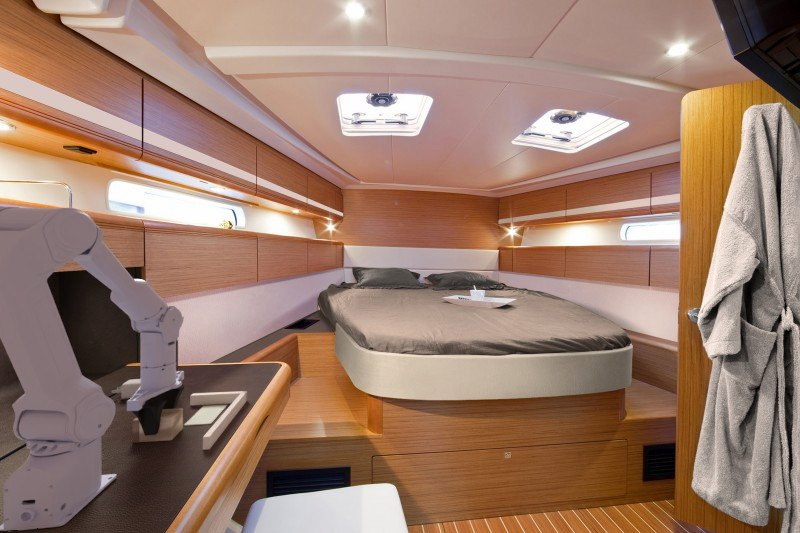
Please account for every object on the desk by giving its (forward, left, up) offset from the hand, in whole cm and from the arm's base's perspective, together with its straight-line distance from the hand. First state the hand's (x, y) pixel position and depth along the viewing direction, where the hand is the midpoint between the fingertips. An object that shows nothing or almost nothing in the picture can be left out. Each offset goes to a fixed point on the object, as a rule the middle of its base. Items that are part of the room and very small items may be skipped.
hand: (158, 427), depth 62 cm
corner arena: (+4, -6, -2) cm, 7 cm away
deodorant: (+17, +9, -2) cm, 19 cm away
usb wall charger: (+20, +19, -2) cm, 28 cm away
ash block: (0, 0, -2) cm, 2 cm away
